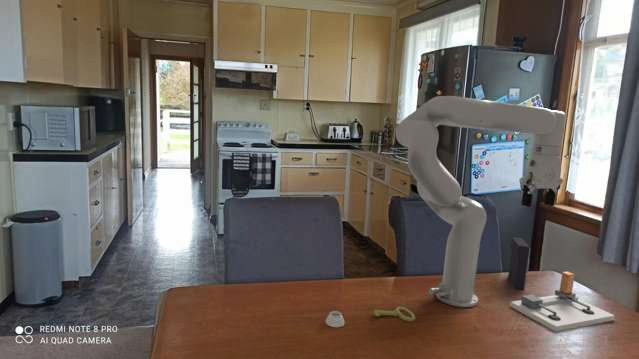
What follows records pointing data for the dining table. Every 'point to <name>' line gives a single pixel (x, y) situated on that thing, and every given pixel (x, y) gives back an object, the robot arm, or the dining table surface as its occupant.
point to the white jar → (335, 319)
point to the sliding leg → (568, 288)
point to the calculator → (519, 263)
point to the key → (396, 313)
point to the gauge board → (560, 312)
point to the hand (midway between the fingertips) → (537, 205)
